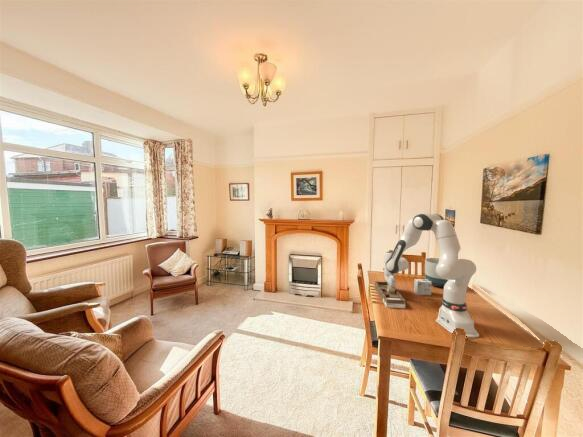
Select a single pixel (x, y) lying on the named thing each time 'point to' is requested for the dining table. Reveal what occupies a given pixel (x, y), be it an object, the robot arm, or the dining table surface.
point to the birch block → (390, 289)
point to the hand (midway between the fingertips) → (389, 288)
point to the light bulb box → (422, 286)
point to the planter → (433, 272)
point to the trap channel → (389, 296)
